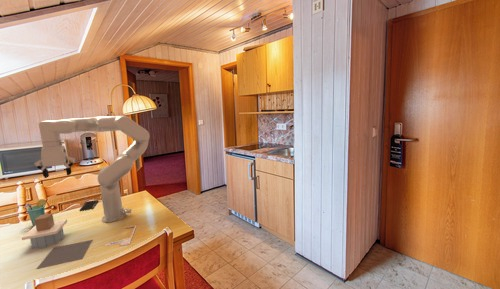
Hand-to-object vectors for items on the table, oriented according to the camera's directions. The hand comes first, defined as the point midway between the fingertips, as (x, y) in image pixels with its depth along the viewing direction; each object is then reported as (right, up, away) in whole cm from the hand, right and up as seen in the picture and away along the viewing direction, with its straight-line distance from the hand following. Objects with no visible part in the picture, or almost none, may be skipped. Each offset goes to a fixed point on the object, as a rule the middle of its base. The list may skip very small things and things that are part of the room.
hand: (58, 176), depth 122 cm
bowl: (+2, -32, -8) cm, 33 cm away
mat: (+19, -33, -18) cm, 42 cm away
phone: (-8, -26, +35) cm, 45 cm away
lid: (+1, -26, -9) cm, 27 cm away
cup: (-20, -30, +10) cm, 37 cm away
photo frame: (+35, -31, -6) cm, 47 cm away
